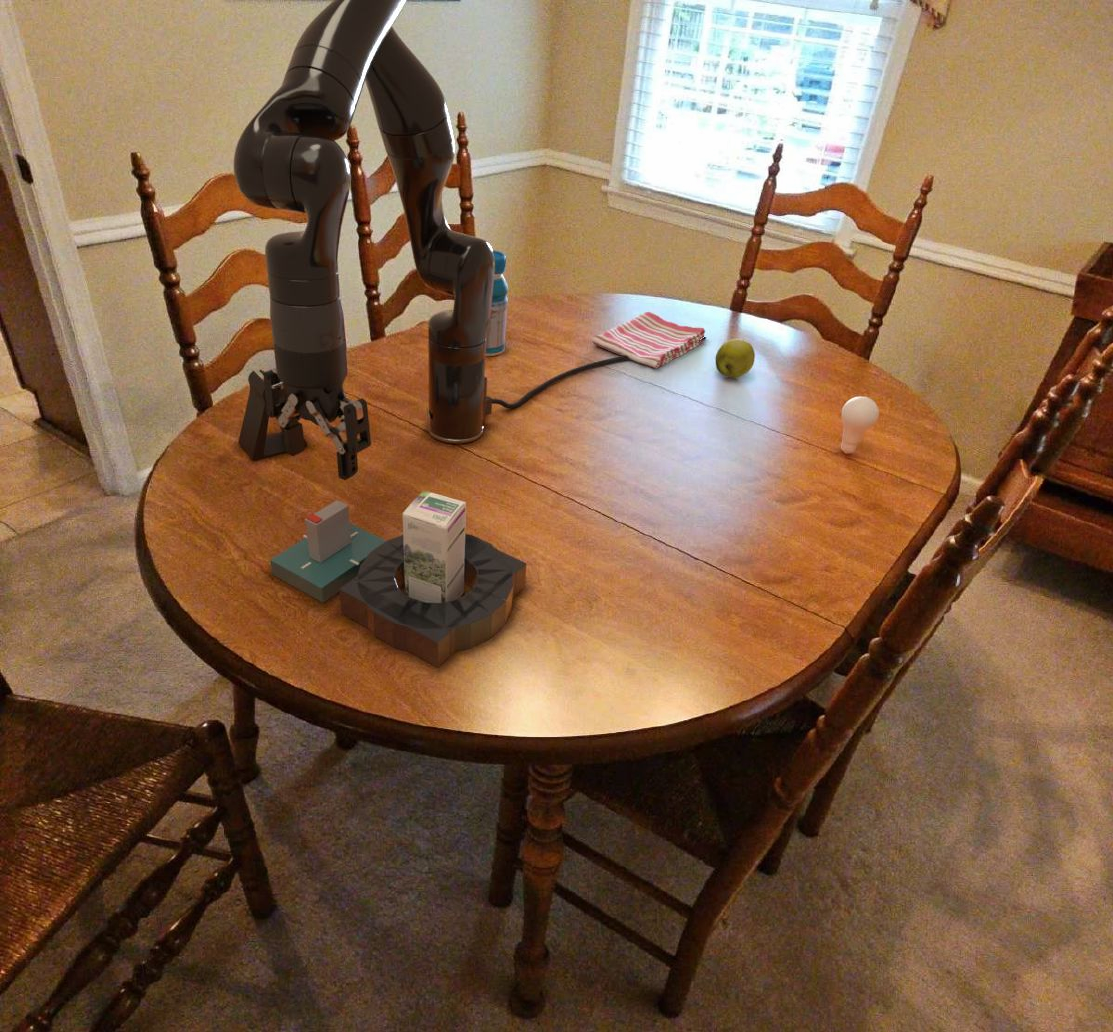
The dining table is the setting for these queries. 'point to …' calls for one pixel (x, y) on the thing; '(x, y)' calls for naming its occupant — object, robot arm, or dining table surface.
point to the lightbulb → (857, 421)
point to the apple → (735, 358)
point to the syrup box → (434, 548)
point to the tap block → (324, 565)
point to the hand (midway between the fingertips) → (321, 464)
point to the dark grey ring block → (433, 624)
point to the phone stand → (259, 424)
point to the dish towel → (650, 339)
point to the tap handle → (328, 531)
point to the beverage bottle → (497, 309)
